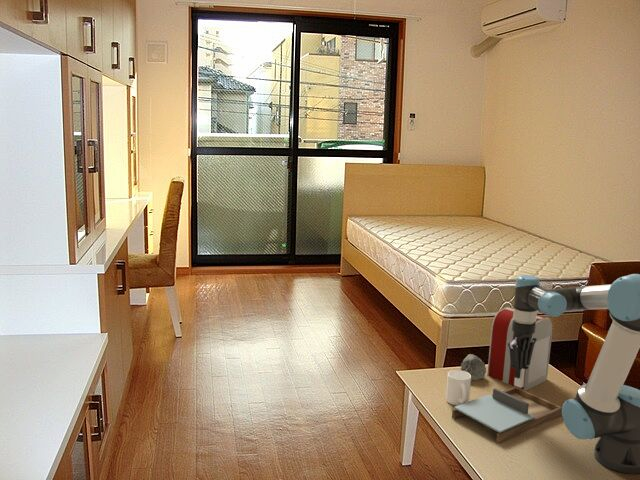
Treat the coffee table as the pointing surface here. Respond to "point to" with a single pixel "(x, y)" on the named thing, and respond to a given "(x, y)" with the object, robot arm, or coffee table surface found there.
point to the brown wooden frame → (537, 408)
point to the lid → (497, 410)
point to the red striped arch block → (501, 353)
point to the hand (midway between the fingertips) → (518, 385)
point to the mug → (458, 387)
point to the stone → (474, 367)
